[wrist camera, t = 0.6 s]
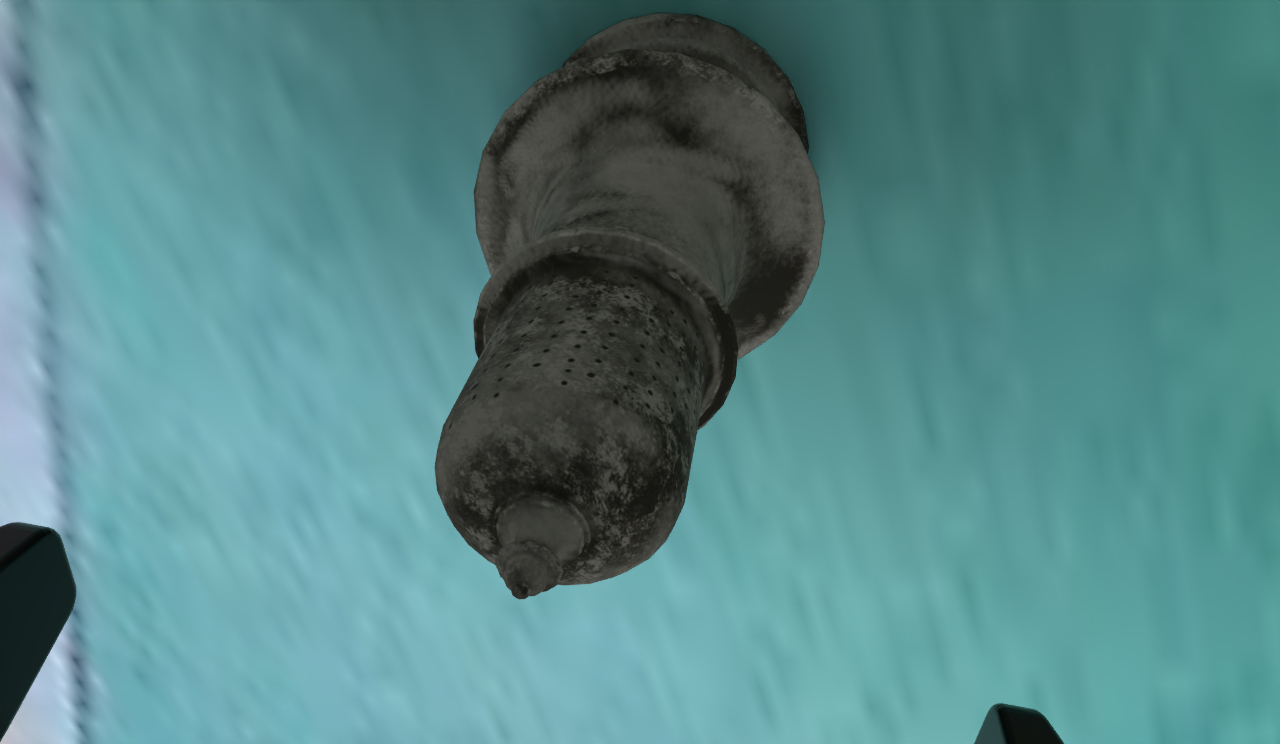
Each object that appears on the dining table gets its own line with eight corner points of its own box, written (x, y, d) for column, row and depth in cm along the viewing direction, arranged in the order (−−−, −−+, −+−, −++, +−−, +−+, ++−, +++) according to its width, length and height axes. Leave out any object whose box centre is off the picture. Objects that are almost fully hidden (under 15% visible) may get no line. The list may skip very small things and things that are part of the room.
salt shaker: (501, 6, 19) (140, 341, 9) (824, -17, 18) (824, 334, 8) (548, 287, 22) (320, 766, 12) (824, 282, 21) (825, 803, 11)
